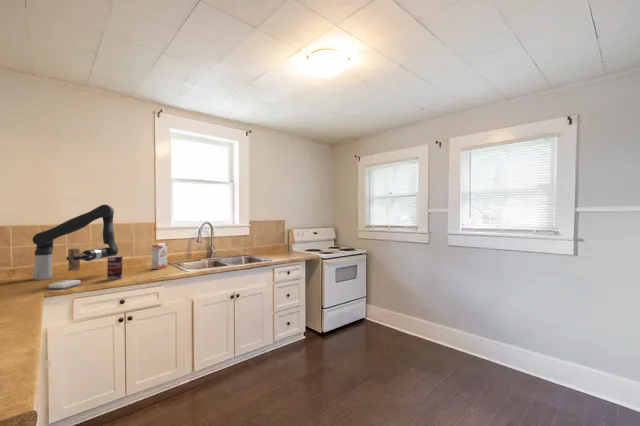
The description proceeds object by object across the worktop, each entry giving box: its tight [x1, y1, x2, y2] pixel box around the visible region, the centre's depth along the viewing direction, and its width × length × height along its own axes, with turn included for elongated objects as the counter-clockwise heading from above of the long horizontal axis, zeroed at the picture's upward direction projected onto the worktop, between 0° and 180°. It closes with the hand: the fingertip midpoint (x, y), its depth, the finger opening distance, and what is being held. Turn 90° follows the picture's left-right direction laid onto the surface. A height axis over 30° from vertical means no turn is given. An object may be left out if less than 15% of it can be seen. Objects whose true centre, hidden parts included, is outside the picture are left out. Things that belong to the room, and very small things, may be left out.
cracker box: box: [151, 242, 168, 270], centre depth 257 cm, size 14×6×21 cm, turn 179°
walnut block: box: [67, 248, 81, 272], centre depth 199 cm, size 4×4×14 cm
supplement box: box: [106, 255, 123, 281], centre depth 215 cm, size 9×5×16 cm, turn 117°
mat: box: [44, 283, 83, 290], centre depth 192 cm, size 14×12×1 cm
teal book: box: [48, 279, 81, 288], centre depth 193 cm, size 10×2×12 cm
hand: (70, 258), depth 196 cm, fingers closed on walnut block, 4 cm apart
